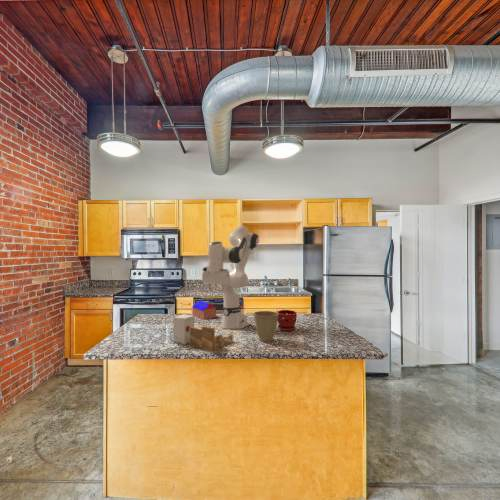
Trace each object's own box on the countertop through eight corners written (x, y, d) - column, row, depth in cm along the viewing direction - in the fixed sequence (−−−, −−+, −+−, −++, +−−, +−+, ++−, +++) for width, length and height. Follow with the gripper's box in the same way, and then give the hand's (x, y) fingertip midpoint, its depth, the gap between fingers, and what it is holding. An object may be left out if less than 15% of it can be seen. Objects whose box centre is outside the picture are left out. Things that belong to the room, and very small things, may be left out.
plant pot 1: (271, 345, 165) (271, 317, 165) (249, 341, 173) (249, 314, 173) (282, 338, 178) (282, 312, 178) (261, 335, 185) (261, 309, 185)
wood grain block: (200, 341, 173) (200, 321, 173) (222, 347, 162) (222, 325, 162) (189, 345, 166) (189, 324, 166) (211, 351, 155) (211, 328, 156)
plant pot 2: (274, 330, 196) (274, 312, 196) (281, 326, 207) (281, 309, 207) (292, 332, 190) (292, 314, 190) (299, 328, 201) (299, 310, 201)
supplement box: (184, 344, 167) (184, 318, 167) (172, 342, 172) (172, 316, 172) (194, 340, 175) (194, 315, 175) (183, 338, 180) (183, 313, 180)
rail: (228, 340, 175) (228, 332, 175) (233, 341, 173) (233, 333, 173) (208, 348, 161) (208, 339, 161) (212, 349, 159) (212, 340, 159)
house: (203, 319, 230) (203, 304, 230) (192, 314, 246) (192, 301, 246) (216, 317, 237) (216, 302, 237) (204, 313, 253) (204, 299, 253)
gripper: (232, 268, 172) (232, 292, 171) (207, 267, 184) (208, 289, 184) (225, 269, 167) (225, 293, 166) (200, 268, 179) (200, 290, 179)
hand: (216, 291), depth 175 cm, fingers open, 8 cm apart
